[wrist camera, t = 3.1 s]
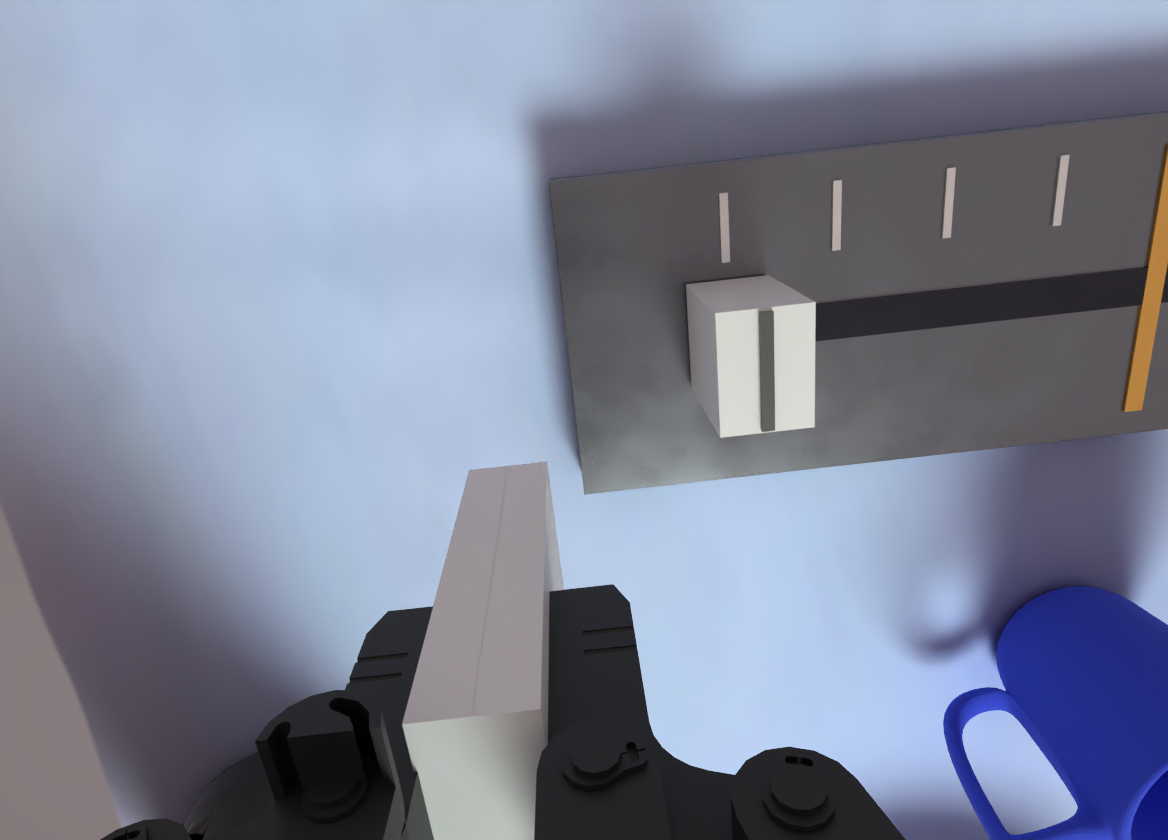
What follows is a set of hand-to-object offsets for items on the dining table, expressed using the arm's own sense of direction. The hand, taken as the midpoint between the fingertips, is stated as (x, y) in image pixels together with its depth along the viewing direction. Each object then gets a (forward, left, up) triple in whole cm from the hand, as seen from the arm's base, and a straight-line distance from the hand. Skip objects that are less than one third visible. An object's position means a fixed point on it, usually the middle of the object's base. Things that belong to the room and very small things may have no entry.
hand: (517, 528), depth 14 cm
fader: (+7, 0, -14) cm, 15 cm away
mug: (+21, -18, -16) cm, 32 cm away
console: (+16, 0, -16) cm, 23 cm away
